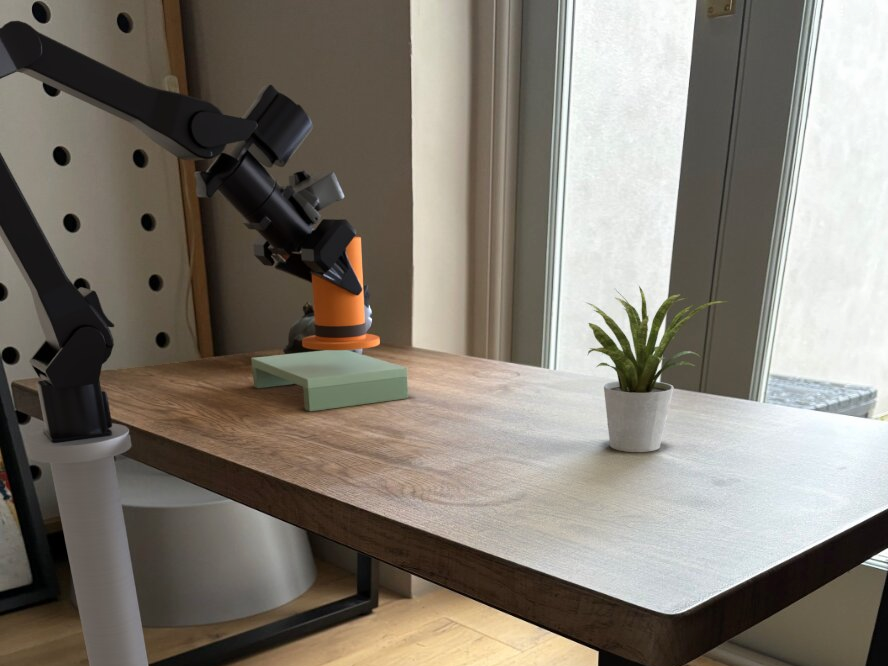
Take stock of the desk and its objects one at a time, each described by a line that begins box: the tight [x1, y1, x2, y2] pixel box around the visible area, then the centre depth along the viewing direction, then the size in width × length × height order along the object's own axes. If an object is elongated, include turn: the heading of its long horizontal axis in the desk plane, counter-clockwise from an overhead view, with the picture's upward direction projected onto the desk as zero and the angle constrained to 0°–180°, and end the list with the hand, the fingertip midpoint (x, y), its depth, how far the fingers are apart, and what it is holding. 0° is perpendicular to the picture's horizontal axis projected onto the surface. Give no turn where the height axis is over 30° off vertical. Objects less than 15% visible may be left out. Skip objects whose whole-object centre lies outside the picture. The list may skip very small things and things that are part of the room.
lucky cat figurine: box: [282, 284, 373, 355], centre depth 149 cm, size 15×12×14 cm
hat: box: [302, 236, 381, 350], centre depth 118 cm, size 10×10×13 cm
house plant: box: [583, 285, 729, 453], centre depth 95 cm, size 14×14×16 cm
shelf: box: [250, 350, 409, 412], centre depth 126 cm, size 14×20×4 cm
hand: (347, 290), depth 119 cm, fingers closed on hat, 6 cm apart
